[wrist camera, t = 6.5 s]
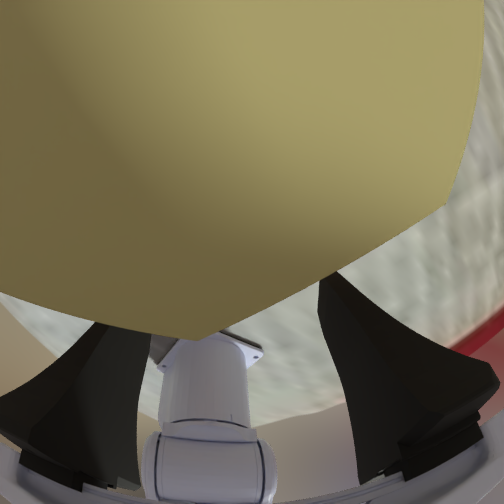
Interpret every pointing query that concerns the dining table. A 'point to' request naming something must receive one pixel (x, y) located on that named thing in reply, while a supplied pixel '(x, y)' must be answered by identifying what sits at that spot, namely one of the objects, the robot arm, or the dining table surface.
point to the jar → (220, 147)
